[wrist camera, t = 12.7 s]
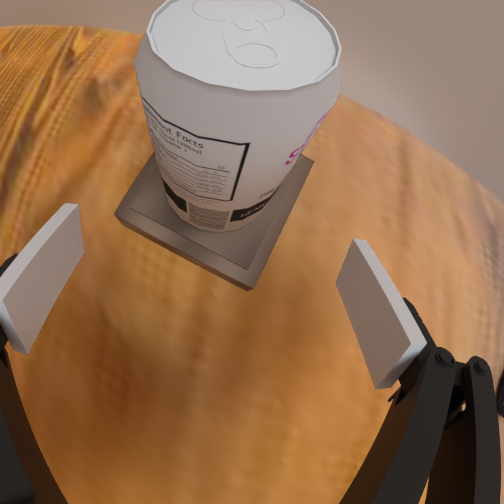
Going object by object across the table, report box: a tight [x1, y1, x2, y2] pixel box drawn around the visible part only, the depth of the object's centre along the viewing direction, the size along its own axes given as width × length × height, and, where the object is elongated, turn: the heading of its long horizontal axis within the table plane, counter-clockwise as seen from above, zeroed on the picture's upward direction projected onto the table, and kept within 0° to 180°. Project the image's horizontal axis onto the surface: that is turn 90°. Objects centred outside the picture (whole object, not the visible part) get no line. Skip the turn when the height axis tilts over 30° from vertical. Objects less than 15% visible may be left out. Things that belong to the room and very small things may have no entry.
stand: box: [114, 153, 314, 291], centre depth 25 cm, size 12×12×3 cm
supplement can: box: [134, 0, 342, 232], centre depth 16 cm, size 8×8×15 cm
